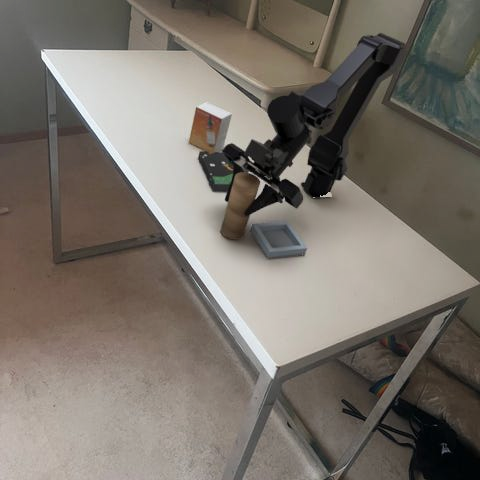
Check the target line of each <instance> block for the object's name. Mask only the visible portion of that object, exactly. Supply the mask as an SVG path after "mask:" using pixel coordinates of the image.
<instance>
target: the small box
mask: <svg viewBox="0 0 480 480" xmlns="http://www.w3.org/2000/svg"><path fill="white" fill-rule="evenodd" d="M232 116H233V113H232V112H230V111H227V110H225V109H222V108H220V107H218V106H216V105H214V104H212V103H210V102H208V101H206V102H204V103H201V104H199V105H197V106H196V107H195V111H194V115H193V118H192V119H193V120H192V125H191V130H190V133H189V139H188V143H189V144H191V145H194V147H197V148H199V149H201V150H202V151H206V152H209V153H210V154H212V153H215V152H220V151H222V150H223V149H224V147H225V143H226V138H227V136H228V131H229V128H230V123H231V120H232Z"/></svg>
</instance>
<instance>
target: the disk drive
mask: <svg viewBox="0 0 480 480" xmlns="http://www.w3.org/2000/svg"><path fill="white" fill-rule="evenodd" d="M197 160H198V163H199V164H200V167H201V169H202V171H203V173H204V175H205V177H206V180H207V181H208V186H209V187H210V189H211V191H212V193H213V192H214V193H215V192H216V193H217V192H219V193H221V192H222V193H227V191H228V188H229V186H230V183H231V180H232V176H233V166H232V165H231V163H230V162H229V161H228V160H227V158H226V157H225V156H224V154H223V153H222V152H220V151H218V152H215V153H212V154H210V153H209V152H207V151H205V150H201V151H199V152H198V157H197Z"/></svg>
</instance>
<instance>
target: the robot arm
mask: <svg viewBox="0 0 480 480" xmlns="http://www.w3.org/2000/svg"><path fill="white" fill-rule="evenodd" d="M406 48H407V44H406V43H405V42H403V41H400V40H399V39H396V38H394V37H391V36H390V35H387V34H386V33H382V32H379V33H378V34H377V35H372V34H367V35H363V36H361V38H360V39H359V41H358V43H357V44H356V47H355V48H354V49H353V50H352V51H351V52H350V53H349V54H348V55H347V56H346V58H345V59H343V61H342V62H341V63H340V64H339V65H338V66H337V67H336V69H334V70H333V71H332V73H331V74H330V75H329V76H328V77H327V78H326V79H325V80H324V81H322V82H319V83H316V84H312V85H311V86H310V87H309V88H307V89H306V90H305V91H304V92H303V93H302V94H298V93H297V92H294V91H293V90H292V91H290V93H289V94H288V95H280V96H277V97H276V98H274V99H272V100H271V101H270V103H269V104H268V105H267V111H266V112H267V113H266V114H267V117H268V118H269V120H270V123H271V125H272V127H273V130H274V131H275V136H274V137H272V140H271V139H270V138H268V139H267V140H266V141H264V143H262V142H260V141H258V140H255V139H253V138H252V139H251V140H250V141H249V143H248V145H247V147H246V149H242V148H241V147H239V146H237V145H236V144H235V143H233V142H231V143H228V144H226V145H224V147H223V149H221V150H220V151H221V152H222V153H223V154H224V156H225V157H226V158H227V160H228V161H229V162H230V163H231V165H232V166H233V176H232V180H231V183H230V186H229V188H228V191H227V192H226V194H225V196H224V197H225V198H224V201H225V202H226V203H228V200H229V197H230V193H231V189H232V186H233V182H234V178H235V175H236V174H237V173H240V172H246V173H250V174H253V175H255V176H256V177H257V178H258V179H259V180H262V181H263V182H265V184H264V185H263V186H264V187H263V189H262V191H261V192H260V194H258V195H257V196H256V198H255V200H254V202H253V203H252V204H251V205H250V206H249V207H248V209H247V210H246V211H245V213H244V215H245V216H246V217H247V216H249V215H250V216H251V215H252V214H254V213H256V212H258V211H261V210H262V209H264V208H267V207H268V206H272V205H274V204H277V203H279V204H283V203H284V202H285V203H287V204H288V205H289V206H291V207H293V208H294V209H298V208H299V207H300V206H301V205H302V203H303V201H304V195H303V192H302V190H301V188H300V186H298V185H296V184H295V183H294V182H292V181H290V180H289V179H288V178H283V179H281V178H280V176H281V175H282V174H283V173H284V171H285V170H286V169H287V168H288V167H289V168H291V167H292V166H293V165H294V162H293V161H294V159H295V158H296V157H297V155H298V154H299V153H300V152H301V151H302V150H303V148H304V147H305V146H306V145H310V144H311V143H312V133H313V130H311V129H310V128H309V127H308V125H309V126H311V127H313V128H314V129H316V130H324V129H325V128H328V127H329V126H330V125H331V124H332V123H333V122H334V119H335V116H336V115H337V114H338V111H339V104H340V102H341V100H342V99H343V98H344V96H346V94H347V93H349V91H350V90H351V89H352V88H353V89H352V91H351V93H350V94H349V96H348V98H347V100H346V101H345V103H344V105H343V107H342V109H341V110H340V113H339V114H338V116H337V118H336V120H335V122H334V123H333V125H332V127H331V129H330V130H329V131H327V132H326V133H324V134H320V135H319V136H317V138H316V140H315V142H314V144H313V145H311V147H310V149H309V152H308V157H307V163H306V165H307V166H308V167H309V166H310V167H311V168H310V172H308V174H307V175H306V179H305V181H303V182H301V184H300V185H301V186H302V187H303V189H304V188H305V189H306V190H307V191H306V190H305V189H304V190H305V191H306V192H307V193H308V195H309V194H310V195H311V196H312V197H320V195H321V196H323V195H326V194H327V193H328V192H331V190H332V188H333V186H334V185H335V182H336V181H339V182H340V181H342V179H343V177H344V176H345V175H346V172H347V170H348V167H347V163H346V162H347V161H346V159H347V156H348V155H349V153H350V152H349V150H350V149H349V147H350V146H349V140H350V137H351V136H352V134H353V132H354V130H355V129H356V127H357V125H358V124H359V122H360V120H361V118H362V117H363V114H364V113H365V111H366V110H367V108H368V106H369V104H370V102H371V101H372V99H373V97H374V95H375V94H376V91H377V90H378V88H379V87H380V85H381V84H382V83H383V81H385V80H386V79H388V78H390V77H391V76H393V75H395V73H396V72H397V70H398V69H399V67H401V66H402V65H403V63H404V62H405V61H406V59H407V57H408V53H409V52H408V50H407V49H406ZM353 86H354V87H353ZM250 159H251V160H250ZM310 195H309V196H310ZM311 196H310V197H311ZM312 197H311V198H312Z"/></svg>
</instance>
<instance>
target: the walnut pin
mask: <svg viewBox="0 0 480 480" xmlns="http://www.w3.org/2000/svg"><path fill="white" fill-rule="evenodd" d="M260 180H261V179H260V178H259V177H257V176H256V175H254V174H253V173H251V172H248V173H246V172H240V173H237V174H236V175H235V178H234V182H233V186H232V189H231V193H230V197H229V200H228V202H227V203H226V204H227V205H226V209H225V212H224V216H223V218H222V219H223V220H222V224H221V226H220V232H221V233H222V235H223V236H224V237H226V238H228V239H230V240H231V239H232V240H240V239H242V238H243V237H244V235H245V232H246V230H247V228H248V227H247V226H248V224H249V219H250V216H251V215H249V216H247V217H246V216H245V215H244V213H245V211H246V210H247V209H248V207H249V206H250V205H251V204H252V203H253V202H254V200H255V199H256V198H257V196H258V195H257V194H258V191H259V188H260V185H261V181H260Z"/></svg>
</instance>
